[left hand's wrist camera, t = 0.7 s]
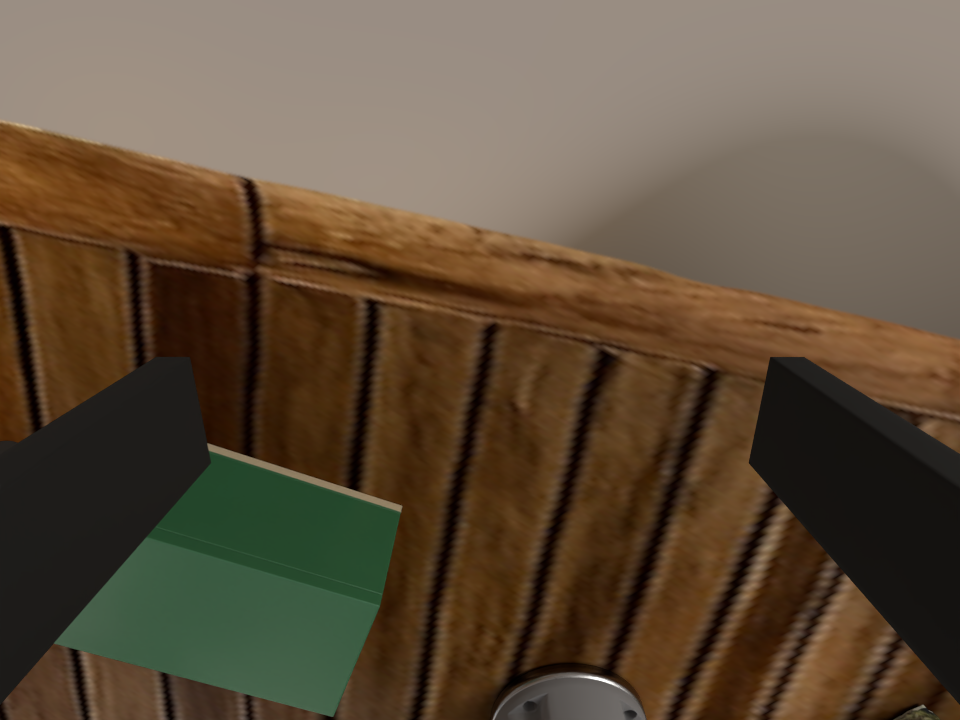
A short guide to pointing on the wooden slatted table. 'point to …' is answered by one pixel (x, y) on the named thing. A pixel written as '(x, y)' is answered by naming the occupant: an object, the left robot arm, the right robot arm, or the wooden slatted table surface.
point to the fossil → (918, 714)
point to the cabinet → (250, 585)
